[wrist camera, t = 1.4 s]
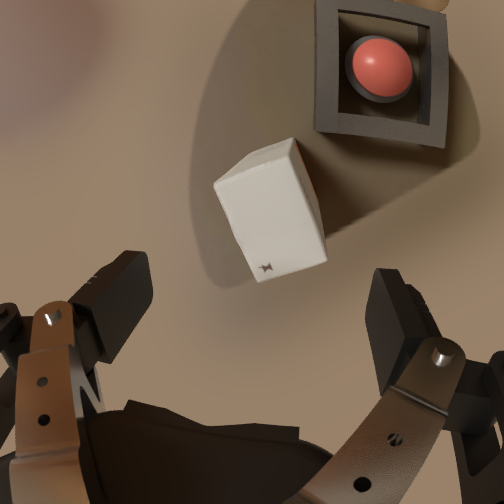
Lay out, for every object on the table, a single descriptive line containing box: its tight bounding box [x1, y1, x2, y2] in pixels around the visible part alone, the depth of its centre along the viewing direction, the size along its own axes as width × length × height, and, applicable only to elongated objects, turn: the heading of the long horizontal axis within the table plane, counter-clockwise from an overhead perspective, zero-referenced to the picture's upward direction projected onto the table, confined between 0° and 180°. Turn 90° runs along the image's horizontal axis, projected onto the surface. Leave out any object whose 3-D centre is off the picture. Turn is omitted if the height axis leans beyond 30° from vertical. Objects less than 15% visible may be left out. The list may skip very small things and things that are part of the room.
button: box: [344, 35, 414, 103], centre depth 19 cm, size 6×6×1 cm
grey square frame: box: [313, 0, 449, 149], centre depth 19 cm, size 10×11×4 cm
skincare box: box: [214, 138, 328, 283], centre depth 21 cm, size 6×4×12 cm
